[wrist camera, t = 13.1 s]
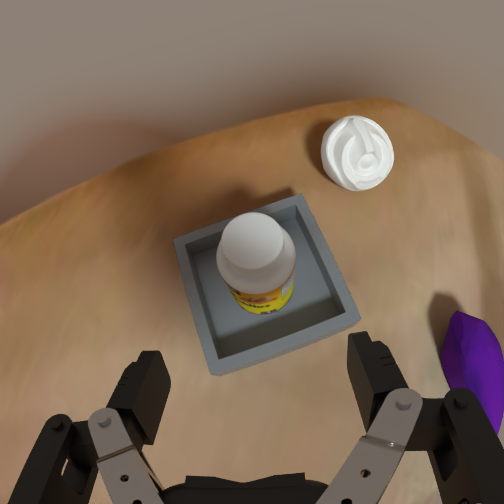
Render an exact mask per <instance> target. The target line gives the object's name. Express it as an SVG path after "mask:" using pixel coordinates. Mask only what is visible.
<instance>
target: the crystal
mask: <svg viewBox="0 0 504 504" xmlns="http://www.w3.org/2000/svg"><path fill="white" fill-rule="evenodd" d="M441 361H442V365H443V369H444V373H445V376H446V379H447V381H448V384H449V386H450V388H451V390H452V389H454V388H466V389H469V390H471V391H472V392H474V393H475V395H476V396H477V398H478V400H479V402H480V403H481V405H482V407H483V409H484V411H485V413H486V415H487V416H488V418H489V420H490V422H491V424H492V426H493V428H494V430H495V432H496V434H497V435H498V432H499V429H500V425H501V421H502V417H503V412H504V359H503V354H502V350H501V347H500V344H499V342H498V340H497V338H496V336H495V334H494V333H493V331H492V330H491V328H490V327H489V326H488V325H487V323H486V322H485V321H483V320H481V319H478V318H475V317H473V316H470V315H468V314H465V313H462V312H460V311H456V312H455V313H454V314H453V316H452V317H451V319H450V323H449V327H448V330H447V334H446V337H445V340H444V343H443V347H442V350H441Z"/></svg>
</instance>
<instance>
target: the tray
mask: <svg viewBox="0 0 504 504" xmlns="http://www.w3.org/2000/svg"><path fill="white" fill-rule="evenodd" d="M252 212H257V213H262V214H265V215H268V216H270V217H271V218H273V219H274V220H275V221H276V222H277V223H278V224H279V226H281V227H282V228H283V229H284V230H285V231H286V232H287V233H288V234H289V236H290V237H291V239H292V241H293V243H294V246H295V252H296V262H295V276H294V288H293V293H292V296H291V298H290V300H289V302H288V303H287V304H286V306H285V307H284V308H282V309H281V310H280V311H278V312H276V313H274V314H271V315H265V316H259V315H254V314H251V313H248V312H246V311H245V310H244V309H242V308H241V307H240V306H239V305H238V303H237V302H236V300H235V299H234V297H233V295H232V294H231V292H230V290H229V288H228V287H227V285H226V283H225V281H224V279H223V278H222V276H221V274H220V272H219V269H218V266H217V260H216V254H217V248H218V245H219V243H220V241H221V237H222V233H223V231H224V229H225V227H226V226H227V224H228V223H229V222H230V221H231V220H233V219H234V218H236V217H237V216H240V215H242V214H240V215H237V216H234V217H231V218H228V219H226V220H223V221H220V222H217V223H215V224H212V225H209V226H206V227H204V228H201V229H198V230H196V231H193V232H190V233H187V234H185V235H182V236H179V237H177V238H174V239H173V243H174V247H175V251H176V255H177V259H178V263H179V267H180V271H181V275H182V278H183V282H184V286H185V290H186V293H187V297H188V301H189V304H190V308H191V311H192V315H193V318H194V322H195V325H196V329H197V332H198V335H199V339H200V342H201V345H202V349H203V352H204V355H205V358H206V361H207V365H208V368H209V371H210V374H211V375H216V376H222V375H225V374H228V373H231V372H235V371H238V370H241V369H244V368H247V367H250V366H253V365H255V364H258V363H261V362H264V361H267V360H270V359H273V358H275V357H278V356H281V355H284V354H286V353H289V352H292V351H294V350H297V349H299V348H302V347H305V346H307V345H310V344H312V343H315V342H317V341H320V340H322V339H325V338H327V337H329V336H332V335H334V334H337V333H339V332H341V331H344V330H346V329H348V328H351V327H353V326H354V325H355V324H356V323H357V322H358V321H359V320H360V319H361V316H360V314H359V312H358V309H357V307H356V305H355V302H354V300H353V298H352V296H351V294H350V291H349V289H348V287H347V285H346V283H345V280H344V278H343V276H342V274H341V272H340V270H339V268H338V265H337V263H336V261H335V259H334V257H333V255H332V253H331V251H330V249H329V247H328V245H327V243H326V241H325V239H324V237H323V235H322V232H321V230H320V228H319V226H318V224H317V223H316V221H315V219H314V217H313V215H312V213H311V211H310V209H309V207H308V205H307V203H306V201H305V199H304V197H303V195H302V193H301V194H298V195H295V196H292V197H289V198H286V199H283V200H280V201H277V202H274V203H271V204H268V205H265V206H262V207H260V208H257V209H254V210H251V211H248V212H245V213H252ZM245 213H243V214H245Z"/></svg>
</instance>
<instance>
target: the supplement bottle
mask: <svg viewBox="0 0 504 504" xmlns="http://www.w3.org/2000/svg"><path fill="white" fill-rule="evenodd" d="M216 260H217V266H218V269H219V272H220V274H221V276H222V278H223V279H224V281H225V283H226V285H227V287H228V288H229V290H230V292H231V294H232V295H233V297H234V299H235V300H236V302H237V303H238V305H239V306H240V307H241V308H242V309H244V310H245V311H246V312H248V313H251V314H254V315H259V316H265V315H271V314H274V313H276V312H278V311H280V310H281V309H282V308H284V307H285V306H286V304H287V303H288V302H289V300H290V298H291V296H292V293H293V288H294V276H295V262H296V252H295V246H294V243H293V241H292V239H291V237H290V236H289V234H288V233H287V232H286V231H285V230H284V229H283V228H282V227H281V226H279V224H278V223H277V222H276V221H275V220H274V219H273V218H271V217H270V216H268V215H265V214H262V213H257V212H252V213H245V214H242V215H240V216H237V217H236V218H234V219H233V220H231V221H230V222H229V223H228V224H227V226H226V227H225V229H224V231H223V233H222V237H221V241H220V243H219V245H218V248H217V254H216Z"/></svg>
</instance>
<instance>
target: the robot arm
mask: <svg viewBox="0 0 504 504" xmlns="http://www.w3.org/2000/svg"><path fill="white" fill-rule="evenodd" d="M347 370H348V375H349V378H350V381H351V384H352V388H353V391H354V394H355V397H356V400H357V404H358V407H359V410H360V414H361V417H362V420H363V424H364V427H365V431H366V433H367V434H366V435H365V436H362V437H361V438H360V439H359V441H358V442H357V444H356V446H355V447H354V449H353V450H352V452H351V454H350V455H349V457H348V458H347V460H346V461H345V463H344V464H343V466H342V467H341V469H340V470H339V472H338V473H337V475H336V476H335V478H334V479H333V481H332V482H331V483H330V485H327V484H325V483H322V482H318V481H313V480H305V473H295V474H284V475H274V476H270V477H266V478H263V479H259V480H255V481H251V482H246V483H240V482H235V481H230V480H226V479H221V478H217V477H205V476H186V480H185V483H182V484H178V485H174V486H171V487H169V488H167V489H165V488H164V487H163V486H162V484H161V483H160V481H159V479H158V478H157V476H156V474H155V473H154V471H153V469H152V467H151V466H150V464H149V462H148V460H147V458H146V457H145V455H144V453H143V451H142V447H143V444H146V445H153V444H154V440H155V437H156V434H157V430H158V427H159V424H160V421H161V417H162V414H163V411H164V408H165V404H166V401H167V398H168V395H169V392H170V388H171V380H170V376H169V373H168V370H167V368H166V365H165V363H164V360H163V357H162V354H161V352H160V351H142V352H141V354H140V356H139V358H138V360H137V362H132V363H131V364H130V365H129V366H128V367H127V368H126V369H125V370H124V372H123V374H122V376H121V379H120V380H119V382H118V386H116V388H115V390H114V392H113V394H112V396H111V398H110V400H109V402H108V404H107V406H106V408H102V409H99V410H97V411H95V412H94V413H93V414H92V415H91V416H90V418H89V420H87V421H80V422H72V420H71V419H70V418H69V417H68V416H67V415H65V414H57V415H54V416H52V417H51V418H49V419H48V420H47V421H46V423H45V425H44V427H43V429H42V431H41V433H40V435H39V437H38V439H37V441H36V443H35V445H34V447H33V449H32V451H31V453H30V455H29V457H28V459H27V461H26V463H25V465H24V467H23V470H22V472H21V474H20V476H19V478H18V481H17V483H16V485H15V488H14V490H13V492H12V495H11V497H10V499H9V502H8V504H88V503H89V500H90V496H91V493H92V490H93V486H94V483H95V480H96V477H97V474H98V470H99V471H100V474H101V476H102V479H103V481H104V484H105V486H106V489H107V491H108V493H109V496H110V498H111V500H112V503H113V504H378V503H379V501H380V499H381V498H382V496H383V494H384V492H385V490H386V488H387V486H388V484H389V483H390V481H391V479H392V477H393V475H394V473H395V471H396V469H397V467H398V465H399V463H400V461H401V458H402V456H403V454H404V452H405V451H427V453H428V456H429V459H430V462H431V465H432V468H433V472H434V475H435V478H436V482H437V485H438V489H439V492H440V496H441V500H442V503H443V504H504V449H503V447H502V444H501V442H500V440H499V438H498V436H497V434H496V432H495V430H494V428H493V426H492V424H491V422H490V420H489V418H488V416H487V415H486V413H485V411H484V409H483V407H482V405H481V403H480V402H479V400H478V398H477V396H476V395H475V393H474V392H472V391H471V390H469V389H466V388H454V389H452V390H450V391H448V392H447V394H446V395H445V397H444V398H437V399H428V398H422V397H421V396H420V394H419V393H418V392H416V391H414V390H412V389H409V387H408V385H407V383H406V381H405V379H404V377H403V375H402V373H401V371H400V369H399V367H398V365H397V364H396V362H395V360H394V358H393V357H392V354H391V352H390V350H389V348H388V347H387V346H386V345H385V344H383V343H382V342H381V341H375V342H372V341H371V339H370V337H369V335H368V333H367V331H363V332H357V333H351V334H349V335H348V351H347ZM66 459H68V463H67V465H66V468H65V470H64V473H63V475H61V472H62V469H63V466H64V464H65V461H66Z"/></svg>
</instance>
